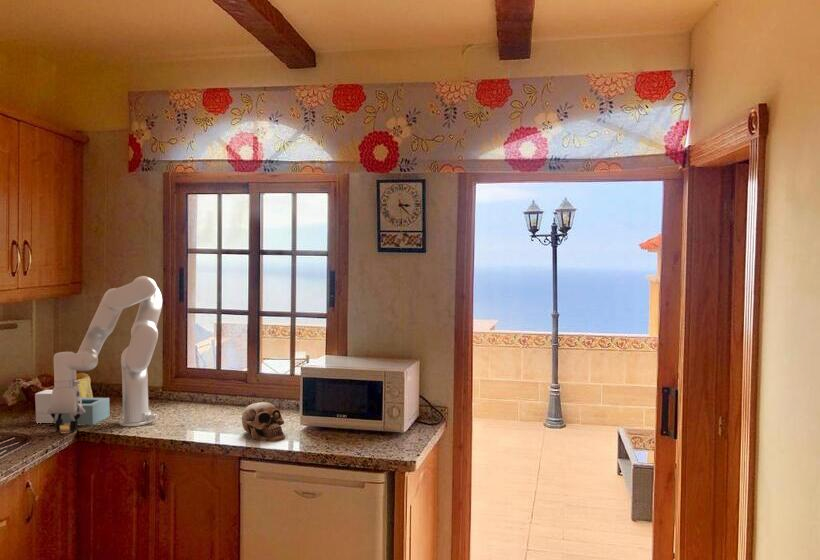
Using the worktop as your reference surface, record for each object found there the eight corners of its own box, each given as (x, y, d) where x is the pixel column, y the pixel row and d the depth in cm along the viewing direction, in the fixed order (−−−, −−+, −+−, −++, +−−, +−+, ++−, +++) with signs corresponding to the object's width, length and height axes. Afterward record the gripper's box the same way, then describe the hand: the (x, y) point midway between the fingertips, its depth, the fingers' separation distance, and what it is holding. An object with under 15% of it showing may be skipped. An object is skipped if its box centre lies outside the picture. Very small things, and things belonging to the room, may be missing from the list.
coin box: (109, 416, 262) (109, 397, 261) (92, 425, 249) (92, 405, 248) (79, 416, 262) (79, 397, 262) (61, 425, 249) (60, 405, 249)
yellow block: (76, 429, 243) (76, 422, 243) (69, 433, 238) (69, 425, 238) (64, 429, 243) (64, 422, 243) (56, 433, 238) (56, 425, 238)
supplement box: (64, 419, 257) (63, 389, 257) (52, 424, 250) (51, 393, 249) (47, 419, 258) (46, 389, 257) (35, 424, 251) (34, 393, 250)
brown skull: (281, 441, 227) (277, 405, 227) (235, 445, 228) (231, 409, 228) (292, 430, 243) (288, 396, 243) (249, 434, 244) (245, 400, 244)
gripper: (92, 382, 243) (93, 427, 244) (50, 381, 243) (51, 427, 244) (81, 386, 235) (82, 433, 236) (37, 385, 236) (39, 432, 237)
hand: (66, 429), depth 240 cm, fingers closed on yellow block, 4 cm apart
